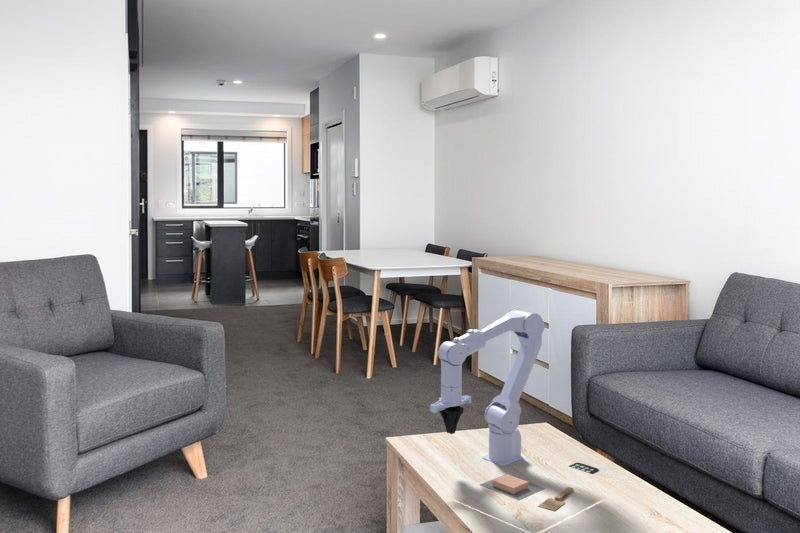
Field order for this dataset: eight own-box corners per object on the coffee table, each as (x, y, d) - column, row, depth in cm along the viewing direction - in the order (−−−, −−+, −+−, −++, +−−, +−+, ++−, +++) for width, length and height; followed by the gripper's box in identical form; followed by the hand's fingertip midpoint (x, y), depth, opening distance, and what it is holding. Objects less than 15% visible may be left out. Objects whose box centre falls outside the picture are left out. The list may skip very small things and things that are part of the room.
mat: (506, 475, 195) (506, 473, 195) (545, 489, 185) (545, 488, 185) (479, 486, 188) (479, 484, 188) (518, 501, 178) (518, 500, 178)
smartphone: (546, 476, 194) (577, 461, 204) (546, 478, 194) (577, 464, 204) (569, 484, 189) (600, 469, 199) (569, 486, 189) (600, 471, 199)
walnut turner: (562, 489, 186) (562, 485, 186) (578, 494, 183) (578, 489, 183) (538, 508, 175) (538, 503, 174) (554, 513, 172) (554, 508, 172)
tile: (507, 474, 190) (492, 480, 186) (528, 481, 185) (513, 488, 181) (507, 480, 190) (492, 486, 186) (528, 488, 185) (513, 494, 181)
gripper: (458, 377, 205) (458, 423, 206) (422, 386, 195) (422, 434, 197) (477, 382, 200) (476, 429, 201) (440, 392, 190) (440, 441, 191)
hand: (450, 432), depth 199 cm, fingers closed
